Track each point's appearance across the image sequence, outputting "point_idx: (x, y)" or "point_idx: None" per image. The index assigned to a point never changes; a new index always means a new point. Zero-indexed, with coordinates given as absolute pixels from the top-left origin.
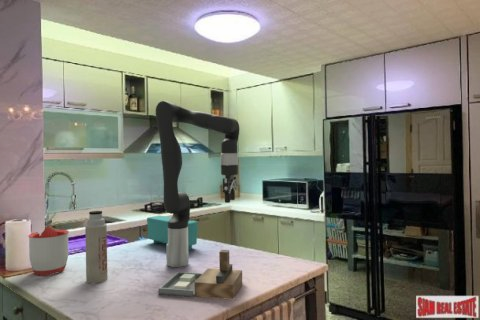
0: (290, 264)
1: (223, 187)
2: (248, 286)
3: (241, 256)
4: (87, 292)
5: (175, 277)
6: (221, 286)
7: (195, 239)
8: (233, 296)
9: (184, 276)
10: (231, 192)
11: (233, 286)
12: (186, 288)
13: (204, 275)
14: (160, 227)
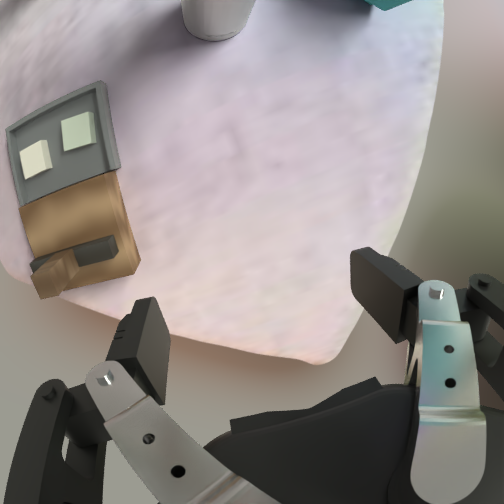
0: (319, 310)
1: (26, 440)
2: (130, 281)
3: (355, 163)
4: (6, 13)
5: (76, 97)
6: None
7: (386, 4)
8: None
9: (69, 127)
10: (395, 308)
11: None
12: (30, 177)
13: (56, 201)
14: None
